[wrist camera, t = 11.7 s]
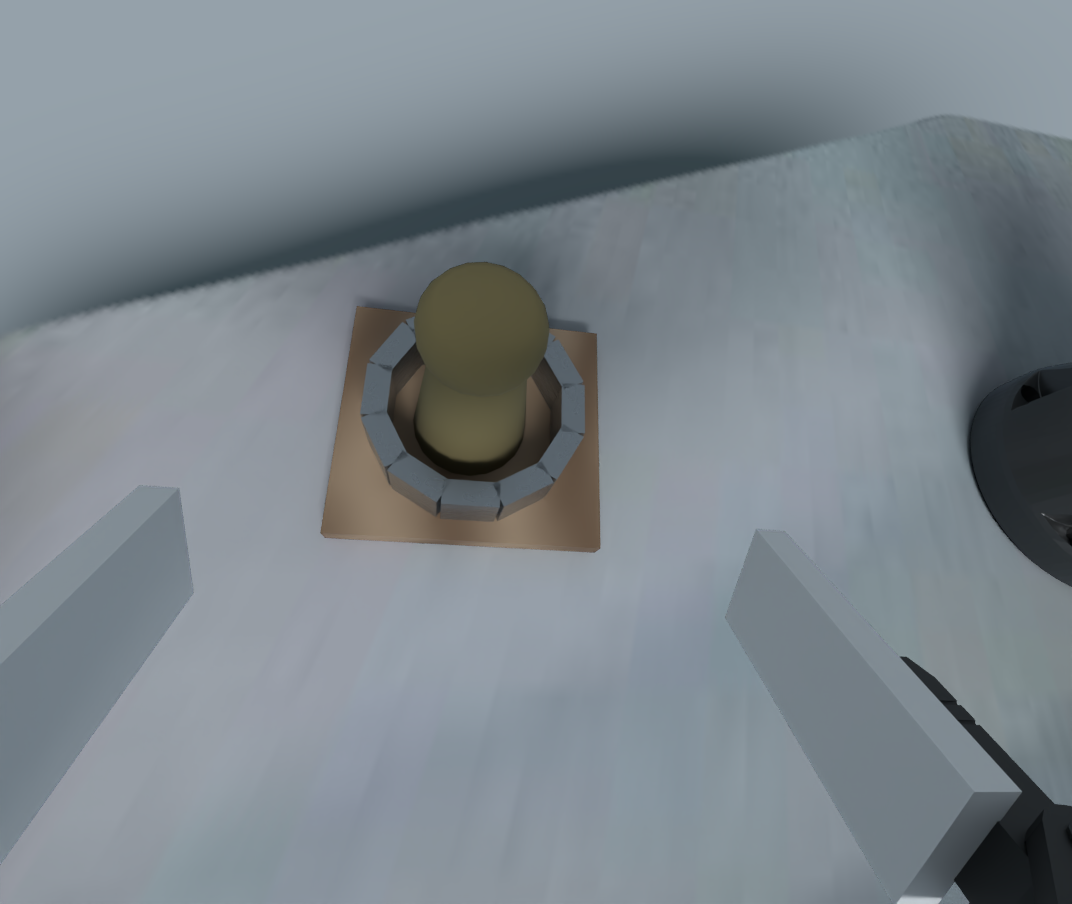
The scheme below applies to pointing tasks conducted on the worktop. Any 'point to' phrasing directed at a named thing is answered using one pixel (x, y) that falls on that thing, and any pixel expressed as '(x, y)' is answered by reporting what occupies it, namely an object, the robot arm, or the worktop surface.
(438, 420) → the cork
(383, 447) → the steel collar
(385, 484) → the walnut board
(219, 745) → the worktop surface
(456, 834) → the worktop surface
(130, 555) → the robot arm
